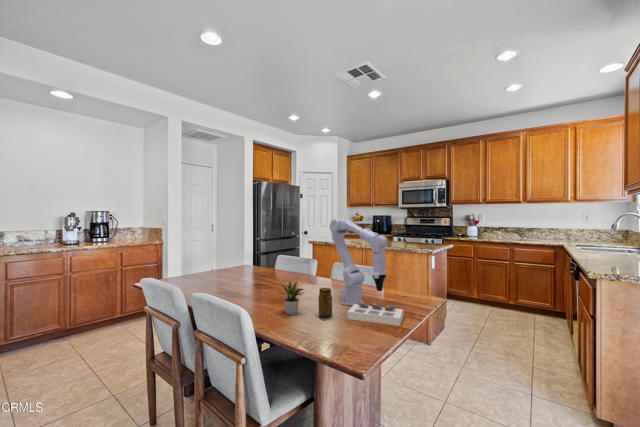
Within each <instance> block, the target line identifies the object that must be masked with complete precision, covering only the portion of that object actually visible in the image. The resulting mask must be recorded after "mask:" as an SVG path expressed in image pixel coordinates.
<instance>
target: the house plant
mask: <svg viewBox="0 0 640 427" xmlns="http://www.w3.org/2000/svg"><path fill="white" fill-rule="evenodd" d="M292 279H293V278H292V277H291V278H290V281H289V280H287V283H286V281H284V282H285V284H284V283H283V282H282V281H283V280H281V281H280V282H277V285H278V284H279V285H280V286H281V287H282V288H283V289H284V291H285V293H286V295H285V293H284V292H282V291H281V292H279V293H278V295H280V296H285V297H286V298H285V297H284V298H283V303H284V308H285V309H284V310H285V314H286V315H290V316H293V315H296V314H297V313H298V310H299V303H300V302H299V301H300V299H299V298H298V297H297V296H303V295H305V292H301V291H304V288H301V287H300V288H299V284H298V281H299V280H300V279H299V278H298V279H296V281H294V283H293V284H292ZM301 284H304V281H303V282H302V281H301V283H300V285H301ZM302 294H303V295H302Z"/></svg>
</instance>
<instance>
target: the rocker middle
mask: <svg viewBox="0 0 640 427" xmlns="http://www.w3.org/2000/svg"><path fill="white" fill-rule="evenodd" d="M371 306H372V307H373V308H375V309H381V308H382V307H383V305H382V304H379V303H375V302H373V303H372V304H371Z"/></svg>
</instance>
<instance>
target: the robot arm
mask: <svg viewBox="0 0 640 427" xmlns="http://www.w3.org/2000/svg"><path fill="white" fill-rule="evenodd" d="M329 230H330V233H331V237H332V241H333V244H334V246H335V249H336V250H337V254H338V255H339V258H340V261H341V263H342V266H343V269H344V270H343V272H342V276H343V283H344V284H345V285H343V286H342V289H341V290H342V291H341V299H342V300H341V301H342V302H341V305H343V306H351V307H352V306H353V305H354V304H359V302H360V301H361V302H364V303H365V301H364V300H362V296H363V294H362V286H363V283H364V281H365V274H364V273H363V272H362V271H361V269H360V268H359V267H357V265H355V263H354V261H353V260H354V259H353V258H352V256H351V253H350V251H349V250H350V249H348V246H347V244H346V241H345V238H344V237H345V236H346V234H347V232H348V231H351V232H352V233H355V234H357V235H358V236H359V238H360V240H362V241H364V242H366V243H368V244H370V247H371V250H372V274H373V275H372V279H373V281H374V284H375V288H376V291H377V292H382V291H383V287H384V284H385V279H386V277H387V274H389V271H388V270H387V269H386V246H388V244H389V243H388V238H387V237H386V236H385V235H384V234H381V235H379V233H378V232H374V231H372V230H371V228H369V227H368V228H367V227H365V228H362V227H361V226H359V225H357V224H356V223H354V222H352V220H350V219H348V218H337V219H336V218H333V219H331V221H330V223H329Z"/></svg>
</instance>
